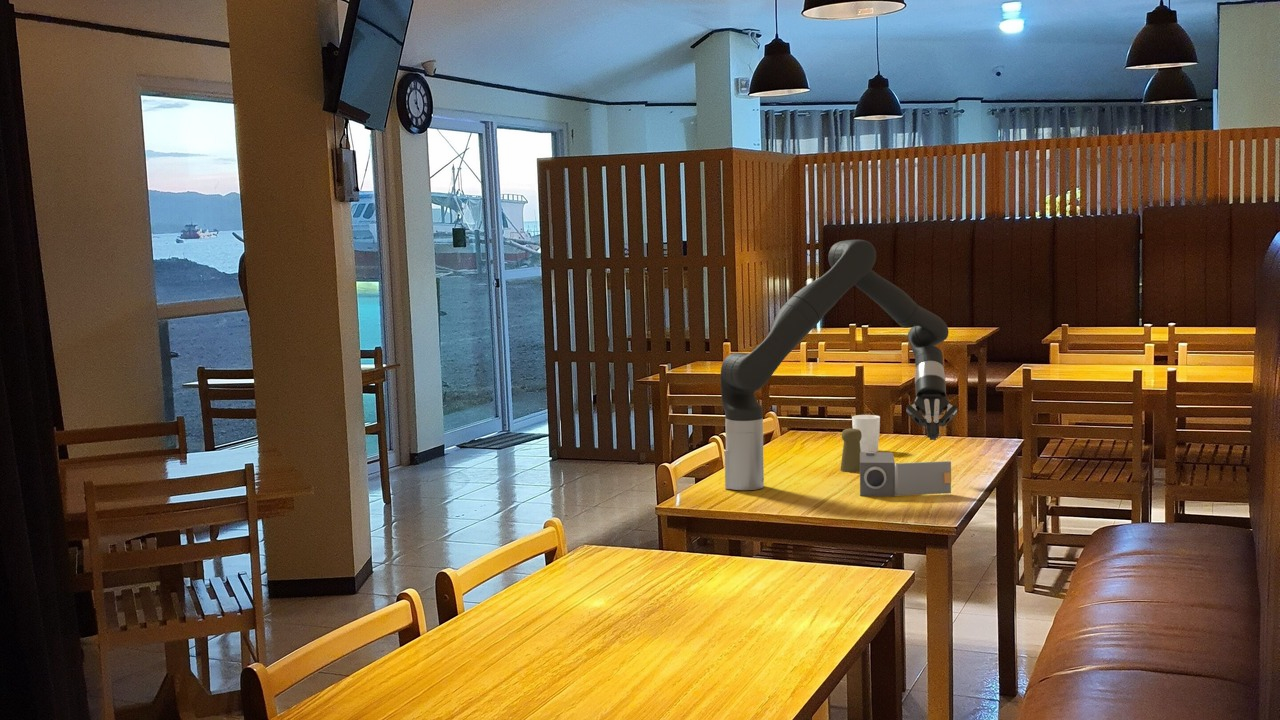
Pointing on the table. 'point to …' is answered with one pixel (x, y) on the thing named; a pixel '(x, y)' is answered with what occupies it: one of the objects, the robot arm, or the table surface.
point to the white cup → (867, 431)
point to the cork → (851, 450)
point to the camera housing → (877, 474)
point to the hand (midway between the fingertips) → (933, 438)
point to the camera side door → (922, 478)
